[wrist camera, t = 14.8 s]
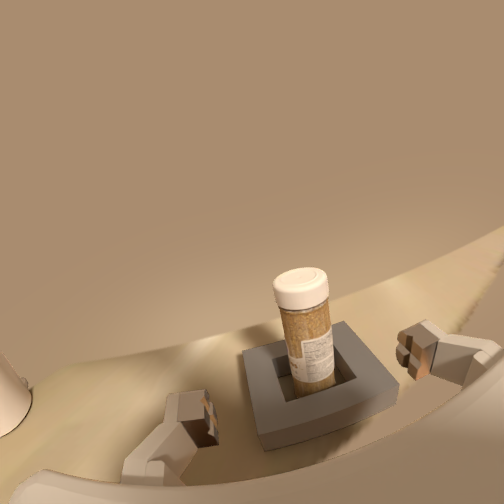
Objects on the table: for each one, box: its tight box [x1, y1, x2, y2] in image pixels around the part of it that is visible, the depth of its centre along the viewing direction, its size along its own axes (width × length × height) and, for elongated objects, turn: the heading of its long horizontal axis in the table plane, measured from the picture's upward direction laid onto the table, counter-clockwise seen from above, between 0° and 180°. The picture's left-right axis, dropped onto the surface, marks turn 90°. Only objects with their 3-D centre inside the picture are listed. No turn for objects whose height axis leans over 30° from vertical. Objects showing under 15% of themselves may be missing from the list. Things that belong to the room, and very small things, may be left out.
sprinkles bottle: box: [273, 267, 336, 398], centre depth 24 cm, size 5×5×13 cm
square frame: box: [242, 321, 399, 451], centre depth 25 cm, size 13×13×3 cm
